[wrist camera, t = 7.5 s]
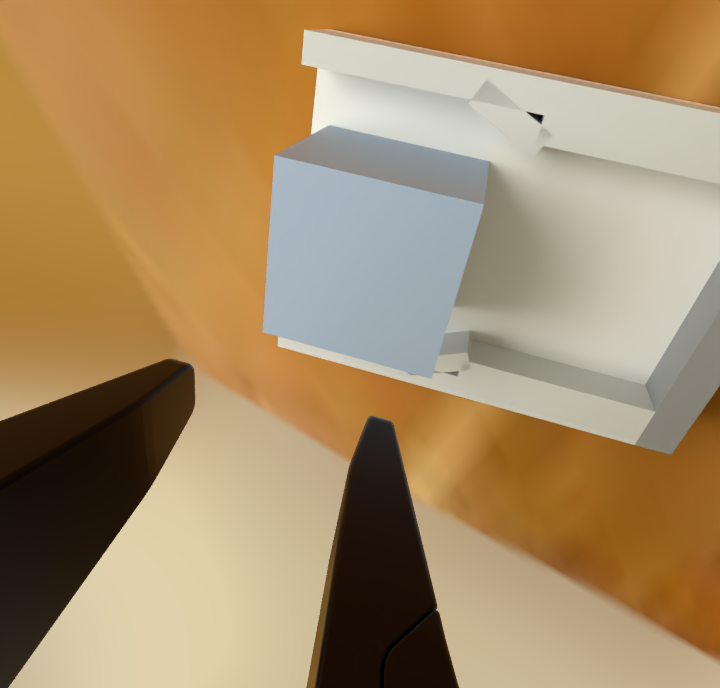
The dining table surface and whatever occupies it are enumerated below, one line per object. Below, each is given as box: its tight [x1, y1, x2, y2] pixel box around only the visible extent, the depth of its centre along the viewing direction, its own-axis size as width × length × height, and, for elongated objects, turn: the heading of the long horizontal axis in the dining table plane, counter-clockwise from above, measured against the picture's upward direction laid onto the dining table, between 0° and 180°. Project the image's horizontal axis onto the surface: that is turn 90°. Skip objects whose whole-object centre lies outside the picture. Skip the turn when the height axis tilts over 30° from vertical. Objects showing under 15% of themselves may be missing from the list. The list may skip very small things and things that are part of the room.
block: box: [263, 125, 490, 379], centre depth 15 cm, size 5×5×4 cm
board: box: [278, 29, 720, 455], centre depth 16 cm, size 14×10×2 cm
